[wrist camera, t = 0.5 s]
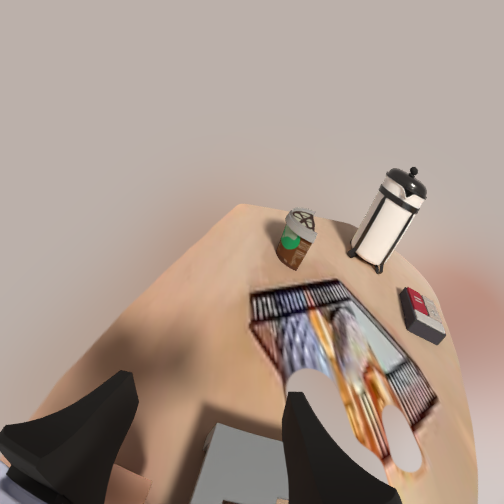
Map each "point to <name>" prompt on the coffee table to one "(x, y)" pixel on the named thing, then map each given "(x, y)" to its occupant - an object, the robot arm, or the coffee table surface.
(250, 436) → the keyhole plate
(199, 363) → the coffee table surface
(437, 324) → the red and grey box
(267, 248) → the coffee table surface
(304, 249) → the food container
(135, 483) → the peg
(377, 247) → the coffee press
